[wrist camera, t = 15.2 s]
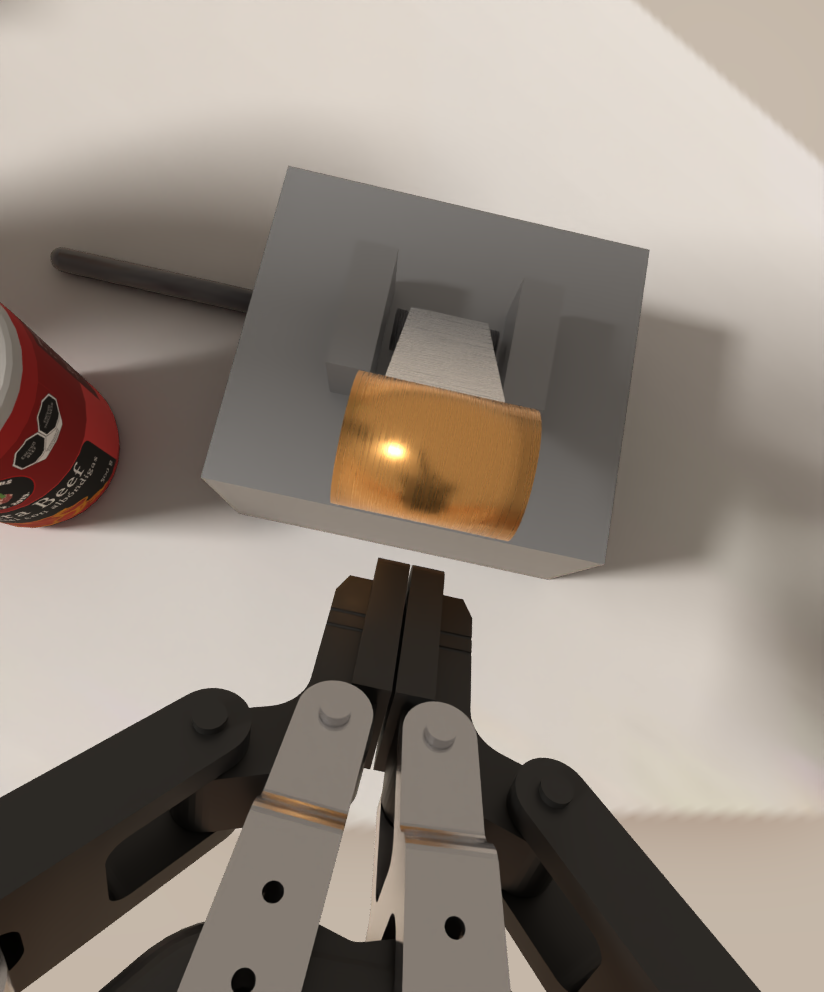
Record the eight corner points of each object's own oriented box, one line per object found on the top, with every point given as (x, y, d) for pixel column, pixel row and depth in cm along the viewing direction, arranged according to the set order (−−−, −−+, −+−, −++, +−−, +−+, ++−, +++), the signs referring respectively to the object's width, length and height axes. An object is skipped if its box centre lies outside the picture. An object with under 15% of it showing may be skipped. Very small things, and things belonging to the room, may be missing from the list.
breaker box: (-13, 459, 33) (-196, 376, 22) (74, 214, 36) (-49, 34, 25) (547, 579, 34) (635, 556, 23) (587, 331, 37) (682, 206, 26)
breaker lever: (388, 362, 27) (323, 526, 14) (402, 287, 26) (346, 392, 13) (483, 383, 27) (507, 566, 14) (502, 310, 26) (548, 437, 13)
